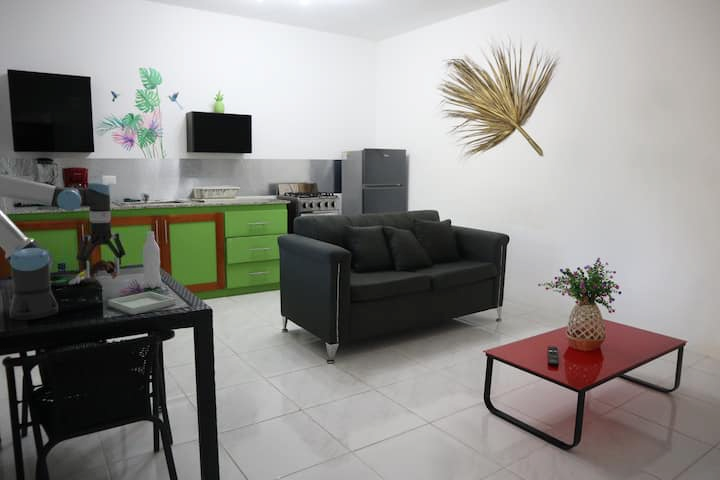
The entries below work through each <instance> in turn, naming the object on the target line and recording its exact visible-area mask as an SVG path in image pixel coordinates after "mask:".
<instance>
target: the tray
mask: <svg viewBox="0 0 720 480" xmlns="http://www.w3.org/2000/svg"><path fill="white" fill-rule="evenodd" d="M107 302H108V304H107V305H108V307H110V308H112V309H115V310H117V311H118V310H119V311H121V312H124V313H127V314H130V315H133V316H134V315H138V313H139V314H142V313H147V312H151V311H154V310H160V309H164V308H169V307H173V306H176V298H174V297H171V296H167V295H164V294H160V293H156V292H154V291H145V292H141V293H136V294H132V295H126V296H122V297H121V296H120V297H117V298H112V299H111V298H110V299H108V300H107Z"/></svg>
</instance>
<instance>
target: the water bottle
mask: <svg viewBox="0 0 720 480" xmlns="http://www.w3.org/2000/svg"><path fill="white" fill-rule="evenodd" d="M145 237H146V241H145V243H144V244H143V247H142V266H143V271H144V275H143V285H144V287H145V288H146V289H149V288H150V289H155V288H160V286H161V283H162V277H161V273H160V272H161V271H160V267H161V257H160V256H161V255H160V254H161V253H160V252H161V249H160V247H159V245H158V243H157V242H156V240H155V237H156V236H155V231H151V230H150V231H146V235H145Z"/></svg>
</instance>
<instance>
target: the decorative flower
mask: <svg viewBox="0 0 720 480" xmlns="http://www.w3.org/2000/svg"><path fill="white" fill-rule="evenodd" d="M85 279H87V278H86V277H85V275H84V270H83V271H81V272H79V273H78V274H77V275H75V276H71V277H66V278H62V279H58V280H54V281H53V280H50V281H51V285H52V284H55V283H58V284H59V283H65V282H67V281H68V280H69V281H68V285H70V286H72V285H75V284H80V282H81V281H82V280H85Z"/></svg>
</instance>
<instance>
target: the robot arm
mask: <svg viewBox="0 0 720 480" xmlns="http://www.w3.org/2000/svg"><path fill="white" fill-rule="evenodd" d="M87 184H88V186H87V187H63V186H62V187H61V186H56V185H52V184H47V183H41V182H37V181H33V180H28V179H25V178H24V179H23V178H19V177H14V176H9V175H6V174H0V197H1V198H7V199H11V200H13V199H14V200H18V201H23V202H27V203H33V204H38V205H43V206H47V207H48V206H49V207H52V208H56V209H57V208H58V209H62V210H63V211H67V212H72V211H76V210H77V209H79V208H88V210H89V213H88V214H89V221H90V223H89V231H90V234H89V235H84V234H83V235H82V236H81V244H80V246H79V249H78V252H77V255H76V258H75V259H76V260H77V261H80V262H81V269H82V270H83V271H84V275H85V277H86V278H85V279H90V278H91V275H90V270H89V267H90V261H88V260H89V258H90V257H91V255H92V253H93V252H94V250H95V249H96V248H97V247H98V246H102V245H105V246H107V247H108V248H109V250H110V251H111V252H112V253H113V254H114V257H113V263H114V270H115V272H116V275H117V274H120V266H121V265H122V258H123V256H126V251H125V248H124V247H123V245H122V242H121V239H120V234H119V232H118V233H117V232H113V233H112V223H111V222H110V221H111V193H110V185H109V184H108V183H107V182H89V183H87ZM111 239H112V240H113V242H114V244H115V245H116V246H114V244H113V242H112V241H111ZM90 240H91V242H90ZM89 242H90V243H89ZM88 244H89V245H88ZM0 247H1V249H2V250H3V251H4V252H5V255H4V258H5V259H6V260H7V262H8V263H9V264H10V268H11V269H10V270H11V280H12V290H13V291H12V292H13V293H12V294H13V296H12V300H11V304H10V307H9V310H8V313H9V316H8V317H9V318H10V319H12V320H19V321H25V320H27V321H28V320H36V319H41V318H47V317H50V316H54V315H55V314H58V312H59V305H58V303H57V301H56V299H55V296H54V294H53V292H52V284H51V281H52V280H51V270H52V267H53V264H54V260H53V255H52V254H51V253H50V251H49V250H48V249H46V248H45V247H43V246H42V245H41V244H40V243H39V242H37V240H36V239H35V238H33V237H27V236H26V235H25V234H24V233H23V232H22V231H21V229H20V228H19V227H18V226H17V225H16V224H15V223H14V222H13V221H12V220H11V219H10V218H9V216H7V215H6V214H5V213H4V211H3V210H2V209H0Z"/></svg>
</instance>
